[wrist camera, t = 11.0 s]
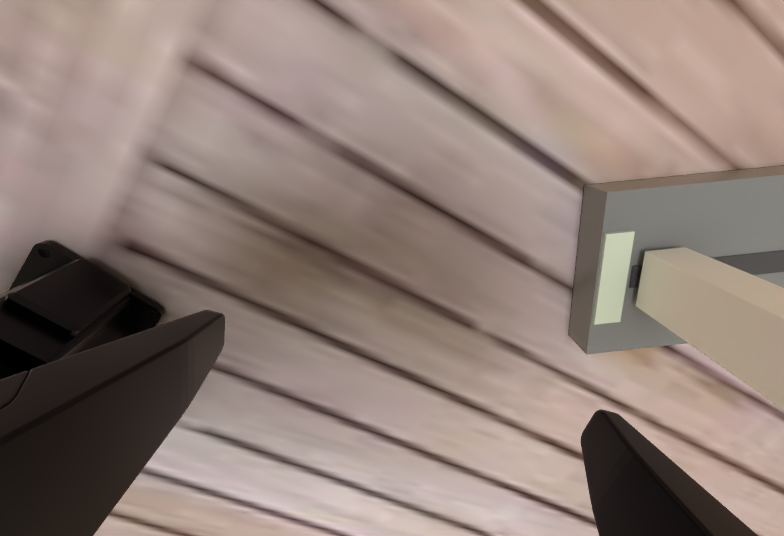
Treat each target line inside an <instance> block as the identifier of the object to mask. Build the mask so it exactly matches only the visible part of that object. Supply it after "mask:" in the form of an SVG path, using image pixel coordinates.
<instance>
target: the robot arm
mask: <svg viewBox="0 0 784 536" xmlns="http://www.w3.org/2000/svg"><path fill="white" fill-rule="evenodd" d="M45 249H47V250H48V251H49V253H50V255H49V254H47V253H46V252H45ZM150 311H154V312H155V313H156V315H152V314H151V313H150ZM164 314H165V311H164V309H163V307H162V306H161V305H159V304H158V303H156V302H154V301H152V300H151V299H149V298H147V297H146V296H144V295H142V294H141V293H139V292H137V291H136V290H134V289H132V288H130V287H129V286H128V285H126V284H124V283H122V282H121V281H119V280H117V279H116V278H114V277H112V276H111V275H109V274H107V273H106V272H104V271H102V270H100V269H99V268H97V267H95V266H94V265H92V264H90V263H89V262H87V261H85V260H83V259H81V258H80V257H78V256H76V255H75V254H73V253H71V252H69V251H68V250H66V249H64V248H63V247H61V246H59V245H58V244H56V243H54V242H52V241H43V242H40V243H38V244H36V245H35V246H34V247H33V248H32V250H31V252H30V254H29V255H28V257H27V259H26V261H25V263H24V264H23V266H22V268H21V270H20V272H19V273H18V275H17V277H16V279H15V280H14V282H13V284H12V286H11V288H10V289H9V291H7V292H5V293H3V294H1V295H0V536H93V535H94V534H95V532H96V531H97V530H98V528H99V527H100V526H101V524H102V523H103V522H104V520H105V519H106V518H107V516H108V515H109V514H110V512H111V511H112V509H113V508H114V507H115V505H116V504H117V503H118V501H119V500H120V499H121V497H122V496H123V495H124V493H125V492H126V491H127V489H128V488H129V487H130V485H131V484H132V483H133V481H134V480H135V478H136V477H137V476H138V474H139V473H140V472H141V470H142V469H143V468H144V466H145V465H146V464H147V462H148V461H149V460H150V458H151V457H152V456H153V454H154V453H155V452H156V450H157V449H158V448H159V446H160V445H161V443H162V442H163V441H164V439H165V438H166V437H167V435H168V434H169V433H170V431H171V430H172V429H173V427H174V426H175V425H176V423H177V422H178V421H179V419H180V418H181V417H182V415H183V414H184V412H185V411H186V409H187V408H188V407H189V405H190V403H191V402H192V400H193V399H194V397H195V395H196V393H197V392H198V390H199V388H200V387H201V385H202V383H203V382H204V380H205V378H206V376H207V375H208V373H209V371H210V370H211V368H212V366H213V365H214V363H215V361H216V359H217V358H218V356H219V354H220V353H221V351H222V348H223V345H224V333H225V317H224V315H223V314H222V313H219V312H215V311H211V310H204V311H201V312H198V313H195V314H192V315H189V316H186V317H183V318H180V319H177V320H174V321H171V322H168V323H165V324H162V325H160V326H157V325H158V323H159V322H160V321H161V319H162V318H163V316H164ZM156 326H157V327H156ZM581 447H582V453H583V459H584V465H585V471H586V476H587V482H588V488H589V494H590V500H591V504H592V509H593V513H594V518H595V522H596V525H597V529H598V533H599V536H758V535H757V534H755V533H754V532H753V531H752V530H751V529H750V528H749V527H747V526H746V525H745V524H744V523H743V522H742V521H741V520H739V519H738V518H737V517H736V516H735V515H734V514H732V513H731V512H730V511H729V510H728V509H727V508H726V507H724V506H723V505H722V504H721V503H720V502H719V501H718V500H716V499H715V498H714V497H713V496H712V495H711V494H710V493H708V492H707V491H706V490H705V489H704V488H703V487H701V486H700V485H699V484H698V483H697V482H696V481H695V480H693V479H692V478H691V477H690V476H689V475H688V474H687V473H685V472H684V471H683V470H682V469H681V468H680V467H678V466H677V465H676V464H675V463H674V462H673V461H672V460H670V459H669V458H668V457H667V456H666V455H665V454H664V453H662V452H661V451H660V450H659V449H658V448H657V447H655V446H654V445H653V444H652V443H651V442H650V441H649V440H647V439H646V438H645V437H644V436H643V435H642V434H641V433H639V432H638V431H637V430H636V429H635V428H634V427H632V426H631V425H630V424H629V423H628V422H627V421H626V420H624V419H623V418H622V417H621V416H620V415H618V414H617V413H614V412H610V411H606V410H598V411H596V412H595V413H594V415H593V416H592V418H591V420H590V421H589V423H588V424H587V426H586V428H585V429H584V431H583V433H582V436H581Z"/></svg>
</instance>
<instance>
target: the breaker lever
mask: <svg viewBox="0 0 784 536" xmlns="http://www.w3.org/2000/svg"><path fill="white" fill-rule="evenodd" d="M636 307H638V308H639V309H641V310H642V311H643V312H645V313H646V314H648V315H649V316H650V317H652V318H653V319H655V320H656V321H658V322H659V323H660V324H662V325H663V326H665V327H666V328H668V329H669V330H670V331H672V332H673V333H675V334H676V335H677V336H679V337H680V338H682V339H683V340H685V341H686V342H687V343H689V344H690V345H692V346H693V347H694V348H696V349H697V350H699V351H700V352H702V353H703V354H704V355H706V356H707V357H709V358H710V359H711V360H713V361H714V362H716V363H717V364H719V365H720V366H721V367H723V368H724V369H726V370H727V371H728V372H730V373H731V374H733V375H734V376H736V377H737V378H738V379H740V380H741V381H743V382H744V383H745V384H747V385H748V386H750V387H751V388H753V389H754V390H755V391H757V392H758V393H760V394H761V395H762V396H764V397H765V398H767V399H768V400H770V401H771V402H772V403H774V404H775V405H777V406H778V407H779V408H781V409H782V410H784V288H783V287H781V286H778V285H776V284H773V283H771V282H768V281H766V280H764V279H761V278H759V277H756V276H754V275H751V274H749V273H747V272H744V271H742V270H739V269H737V268H734V267H732V266H730V265H727V264H725V263H722V262H720V261H718V260H715V259H713V258H710V257H708V256H705V255H703V254H701V253H698V252H696V251H693V250H691V249H688V248H686V247H682V248H672V249H662V250H653V251H645V255H644V260H643V266H642V272H641V277H640V283H639V289H638V294H637V300H636Z"/></svg>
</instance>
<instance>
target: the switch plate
mask: <svg viewBox="0 0 784 536" xmlns="http://www.w3.org/2000/svg"><path fill="white" fill-rule="evenodd" d="M682 247H686V248H688V249H691V250H693V251H696V252H698V253H701V254H703V255H705V256H708V257H710V258H713V259H715V260H718V261H720V262H722V263H725V264H727V265H730V266H732V267H734V268H737V269H739V270H742V271H744V272H747V273H749V274H751V275H754V276H756V277H759V278H761V279H764V280H766V281H768V282H771V283H773V284H776V285H778V286H781V287H783V288H784V165H783V166H773V167H763V168H753V169H742V170H732V171H722V172H712V173H701V174H691V175H681V176H671V177H660V178H650V179H640V180H630V181H619V182H609V183H599V184H589V185H584V194H583V203H582V213H581V222H580V232H579V241H578V250H577V260H576V269H575V279H574V288H573V298H572V307H571V317H570V326H569V336H570V337H571V338H572V339H573V340H574V341H575V343H576V344H577V345H578V346H579V347H580V348H581V349H582V350H583V351H584V352H585V353H586V354H594V353H603V352H612V351H621V350H630V349H639V348H648V347H657V346H666V345H675V344H684V343H687V342H686V341H685V340H683V339H682V338H680V337H679V336H677V335H676V334H675V333H673V332H672V331H670V330H669V329H668V328H666V327H665V326H663V325H662V324H660V323H659V322H658V321H656V320H655V319H653V318H652V317H650V316H649V315H648V314H646V313H645V312H643V311H642V310H641V309H639V308H638V307H636V300H637V294H638V289H639V283H640V277H641V272H642V266H643V260H644V255H645V251H653V250H662V249H672V248H682Z"/></svg>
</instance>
